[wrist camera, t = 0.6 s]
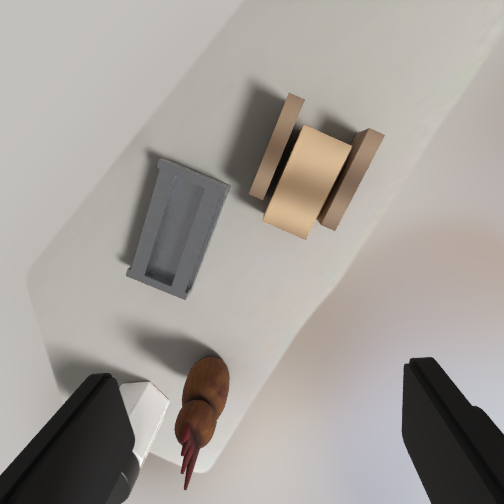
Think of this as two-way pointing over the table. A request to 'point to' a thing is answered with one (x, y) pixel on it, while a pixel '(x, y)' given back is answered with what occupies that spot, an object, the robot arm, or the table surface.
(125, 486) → the jar
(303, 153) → the cardboard-coloured box
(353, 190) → the wooden blocks
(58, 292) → the table surface
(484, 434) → the robot arm
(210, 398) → the wooden figurine
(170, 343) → the table surface
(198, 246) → the grey shallow tray
